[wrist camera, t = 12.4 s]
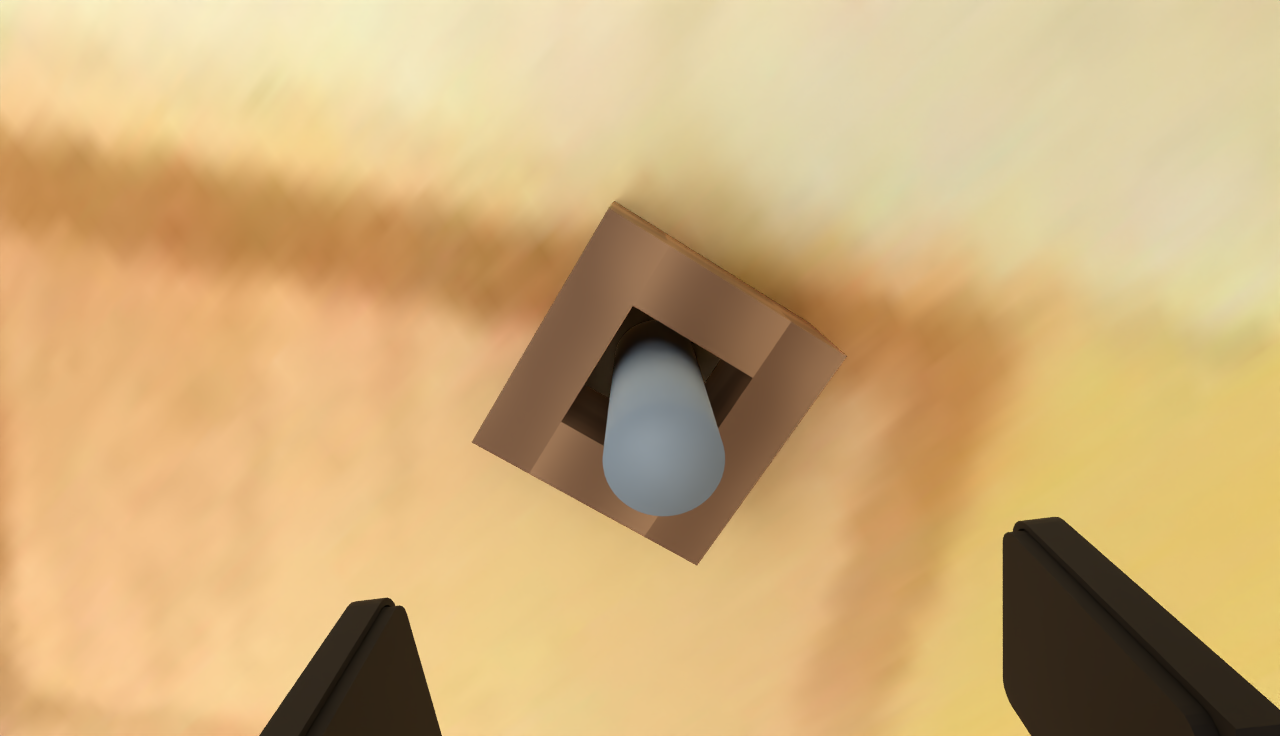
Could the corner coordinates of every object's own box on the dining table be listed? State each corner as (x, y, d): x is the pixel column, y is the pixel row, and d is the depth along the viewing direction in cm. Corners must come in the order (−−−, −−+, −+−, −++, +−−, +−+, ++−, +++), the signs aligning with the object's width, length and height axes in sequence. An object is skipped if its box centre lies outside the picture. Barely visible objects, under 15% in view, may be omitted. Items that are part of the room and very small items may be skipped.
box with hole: (810, 323, 27) (846, 356, 22) (687, 500, 29) (696, 565, 25) (614, 201, 26) (608, 208, 21) (500, 395, 28) (471, 442, 23)
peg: (709, 347, 28) (749, 441, 18) (667, 411, 28) (682, 536, 19) (641, 305, 27) (643, 380, 17) (599, 372, 28) (579, 479, 18)
